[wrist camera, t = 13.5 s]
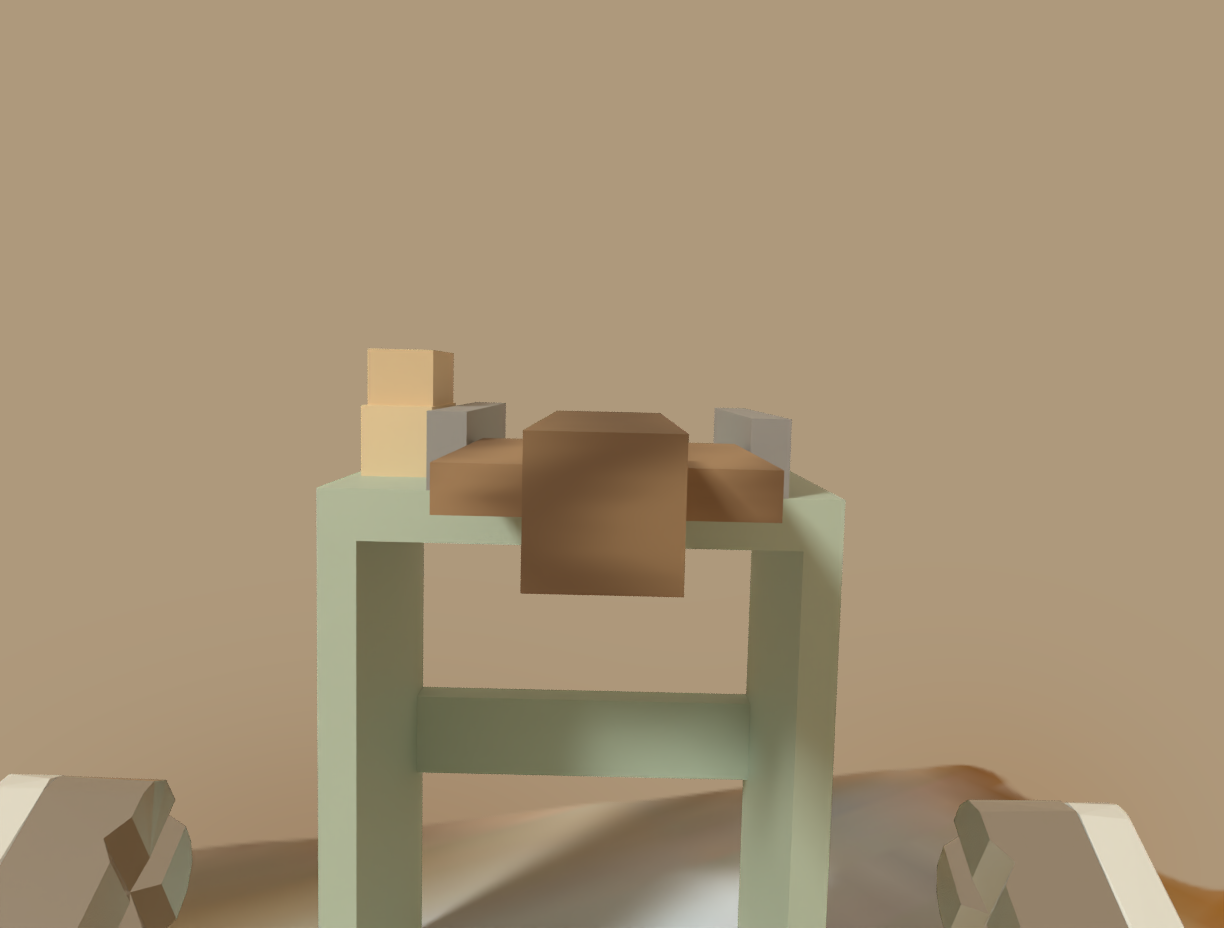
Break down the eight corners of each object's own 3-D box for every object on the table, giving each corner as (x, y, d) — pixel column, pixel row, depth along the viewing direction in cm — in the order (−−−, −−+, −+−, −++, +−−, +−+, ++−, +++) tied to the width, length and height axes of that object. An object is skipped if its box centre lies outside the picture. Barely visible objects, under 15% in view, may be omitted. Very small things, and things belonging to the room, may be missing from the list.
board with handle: (329, 588, 17) (329, 425, 17) (482, 475, 38) (483, 400, 38) (874, 601, 17) (882, 439, 17) (733, 481, 38) (736, 406, 38)
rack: (319, 1129, 38) (315, 343, 35) (393, 939, 51) (395, 353, 48) (815, 1140, 38) (851, 356, 35) (764, 948, 51) (787, 362, 48)
